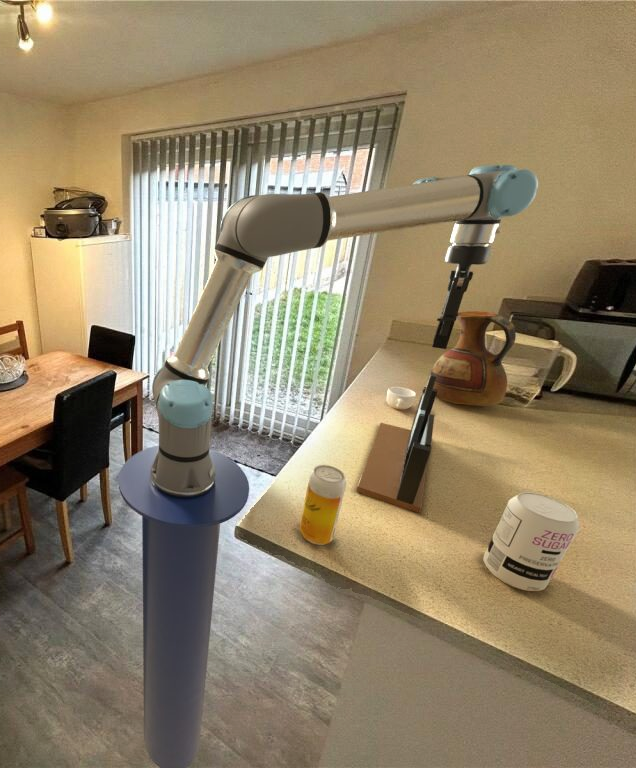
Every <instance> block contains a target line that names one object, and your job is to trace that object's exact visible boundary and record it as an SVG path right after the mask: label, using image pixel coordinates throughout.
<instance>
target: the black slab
mask: <svg viewBox="0 0 636 768" xmlns="http://www.w3.org/2000/svg"><path fill="white" fill-rule="evenodd" d="M429 375H430V377H429V376H428V378H429V380H428V379H427V384H426V386H425V387H426V390H425V393H423V395H422V394H421V395H422V398H421V397H420V398H421V402H420V405H419V404H418V405H419V408H418V407H417V408H418V411H417V410H416V411H417V415H416V418H415V417H414V418H415V421H414V420H413V421H414V424H413V423H412V424H413V428H412V427H411V428H412V433H411V438H410V443H409V448H408V452H407V455H410V452H411V449H412V446H413V443H416V442H417V439H418V436H419V433H420V430H421V427H422V423H423V420H424V417H425V411H426V409H427V406H428V403H429V399H430V396H431V393H432V390H433V387H434V384H435V381H436V377H437V374H436V373H431V374H430V373H429Z"/></svg>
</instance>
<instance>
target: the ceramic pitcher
mask: <svg viewBox="0 0 636 768" xmlns="http://www.w3.org/2000/svg"><path fill="white" fill-rule="evenodd" d="M458 313H459V315H458V317H456V318H457V319H456V320H457V321H459V324H460V333H459V338H458V341H457V343H456V345H454V347H452V348H451V349H449V350H447V351H445V352H444V353H443V354H441V356H439V358H438V359H437V360H436V362H435V363H434V364H433V366H432V368H431V369H430V373H429V375H428V377H427V381H428V380H429V377H430V374H431V373H436V374H437V377H436V381H435V384H434V387H433V389H438V390H437V395H436V398H437V399H439V400H441V401H442V400H443V401H446V402H450V403H452V404H458V405H459V404H460V405H465V406H484V407H487V406H494V405H498V404H500V403H501V402H502V401H503V400H504V398H505V396H506V394H507V388H508V377H507V373H506V371H505V368H504V365H503V363H502V360H503V359H504V357H505V356H506V355H507V353H508V352H509V351H510V350H511V348H512V347H513V345H514V344H515V341H516V333H517V332H516V328H515V325H514V323H513V322H511V321H510V320H509V319H508V318H507V317H505V316H501V315H500V314H499V313H496V312H493V311H491V312H489V311H478V310H476V311H473V310H472V311H468V310H467V311H458ZM491 323H492V324H493V323H494V324H495V325H497V326H499V327H500V328H501V329H502V330H503V331H504V332H503V333H504V335H505V343H504V346H503V347H502V349H501V350H500V352H498V353H496V354H494V353H493V352H491V351H490V350H489V349H487V347H486V343H485V337H486V331H487V328H488V327H489V325H490V324H491Z"/></svg>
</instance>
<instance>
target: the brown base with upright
mask: <svg viewBox="0 0 636 768" xmlns="http://www.w3.org/2000/svg"><path fill="white" fill-rule="evenodd" d="M426 387H427V386H423V388H422V392H421V395H420V399H419V402H418V405H417V409H416V412H415V415H414V418H413V421H412V425H411V427H410V428H404V427H400V426H397V425H393V424H388V423H383V422H380V423H379V425H378V428H377V431H376V434H375V437H374V439H373V442H372V444H371V448H370V450H369V453H368V456H367V459H366V461H365V465H364V467H363V470H362V472H361V476H360V478H359V481H358V483H357V487H356V489H355V490H356V493H359V494H362V495H364V496H368V497H370V498H374V499H376V500H380V501H383V502H385V503H388V504H391V505H394V506H397V507H400V508H403V509H406V510H409V511H412V512H414V513H417V514H420V513H421V510H422V505H423V496H424V489H425V481H426V471H427V464H428V461H429V458H430V456H431V452H432V441H433V432H434V425H435V424H434V423H435V414H431V413H432V410H433V406H434V403H435V401H436V398H437V397H436V395H437V390H438V389H433V390H432V393H431V396H430V399H429V403H428V406H427V409H426V411H425V417H424V420H423V423H422V427H421V430H420V433H419V436H418V439H417V442H416V443H413V446H412V449H411V452H410V455H407V452H408V448H409V443H410V438H411V433H412V428H413V424H414V421H415V418H416V415H417V411H418V408H419V405H420V402H421V398H422V395H423V393H425V390H426Z"/></svg>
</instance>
